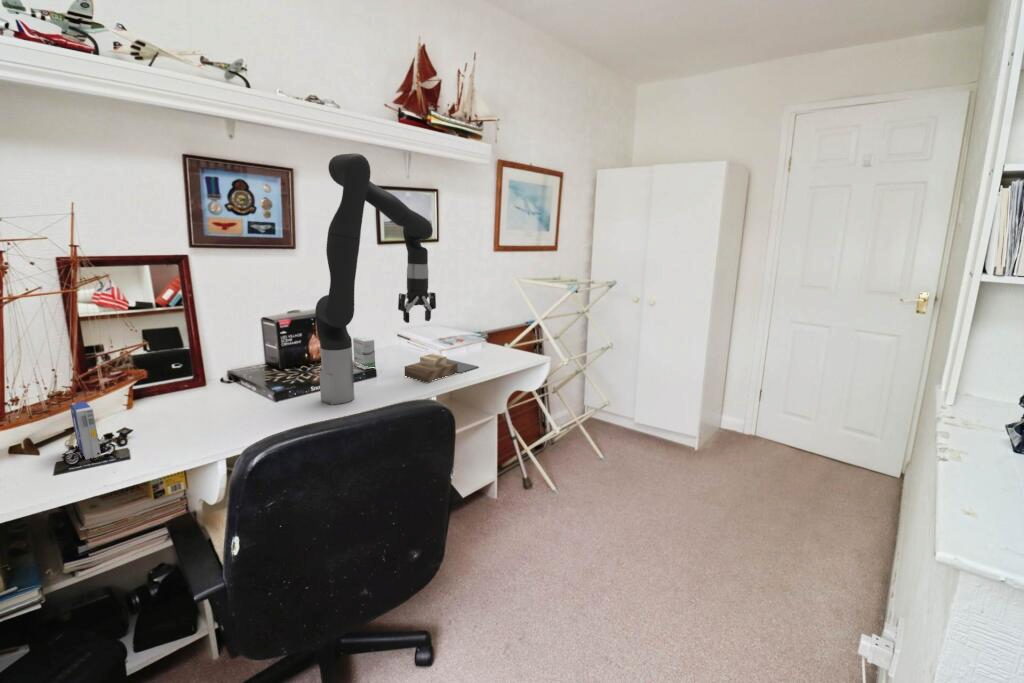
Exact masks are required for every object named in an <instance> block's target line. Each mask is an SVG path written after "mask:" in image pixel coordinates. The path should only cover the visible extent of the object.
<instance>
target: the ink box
mask: <svg viewBox="0 0 1024 683" xmlns="http://www.w3.org/2000/svg"><path fill="white" fill-rule="evenodd" d="M352 344H353V345H352V348H353V360H354V361H353V363H354V362H357V363H359V364H362V365H364V366H368V367H375V368H376V353H375V352H376V351H375V339H372V338H369V337H366V336H359V337H358V336H357V337H353V338H352Z"/></svg>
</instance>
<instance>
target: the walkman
mask: <svg viewBox="0 0 1024 683" xmlns="http://www.w3.org/2000/svg"><path fill="white" fill-rule="evenodd" d="M69 408H70V414H71V418H72V424H73V429H74V435H75V436H74V437H75V440H76V445H78V446H77V448H78V447H79V449H80V450H81V452H82V454H83V455H82V454H81V455H82V457H83V456H84V457H85V458H84V457H83V458H84V459H85V461H86V460H90V458H91V459H95V458H99V456H100V457H102V453H101V448H100V442H99V437H98V436H99V435H98V430H97V424H96V420H95V413H94V409H93V408H92V407H91V406H90V405H89V403H87V402H86V401H78V402H71V403H70V404H69ZM93 457H94V458H93Z"/></svg>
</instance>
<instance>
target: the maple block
mask: <svg viewBox="0 0 1024 683" xmlns="http://www.w3.org/2000/svg"><path fill="white" fill-rule="evenodd" d="M447 359H448V357H447V356H445V355H441V354H436V353H430V354H427V355H423V356H420V357H419V362H420V365H423V366H427V367H431V368H435V367H439V366H442V365H446V364H447Z"/></svg>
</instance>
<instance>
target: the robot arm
mask: <svg viewBox="0 0 1024 683" xmlns="http://www.w3.org/2000/svg"><path fill="white" fill-rule="evenodd" d="M328 174H329V175H330V178H331V179H332V180H333V181H334V182H335V183H336V184H337V185H339V186H341V187H342V194H341V195H342V196H341V200H340V203H339V206H338V208H337V209H336V212H335V214H334V216H333V218H332V219H331V221H330V223H329V227H328V231H327V240H326V248H325V250H326V259H327V266H328V270H329V276H330V277H329V278H330V282H329V283H330V284H329V291H328V294H326V295H323V296H322V297H320V299H319V300H318V301H317V303H316V305H315V315H314V316H315V324H316V326H315V327H316V334H317V338H318V341H319V344H320V345H319V347H320V359H321V360H320V362H321V363H320V364H321V371H319V373H318V374H319V376H318V377H319V391H320V393H319V394H320V401H321V402H324V403H327V404H330V405H332V406H333V405H337V404H340V405H341V404H345V403H349V402H352V401H353V400H354V399H355V384H354V366H353V365H354V361H353V345H352V344H353V339H352V337H351V335H350V333H349V332H348V328H347V326H348V325H349V324H350V323H352V320H353V318H354V314H355V283H356V275H357V268H358V259H359V253H360V252H359V251H360V242H361V233H362V224H363V217H364V216H363V215H364V210H365V204H366V202H367V203H369V204H370V205H371V206H372V207H374V208H375V209H376V210H378V211H379V213H382V214H383V215H384V216H385V217H387V218H388V219H389V220H390V221H391V222H392V223H393V224H394V225H396V226H398V227H400V228H401V227H402V234H403V239H404V244H405V248H406V250H407V251H406V252H407V267H406V291H407V292H406V293H401V292H399V293H398V303H397V304H398V305H397V309H398V311H400V312H402V313H403V321H404V323H406V324H408V323H409V324H410V311H411V309H412V308H413V307H414V306H423V307H424V309H425V310H424V321H425V322H430V320H431V319H432V310H435V309H436V308H437V303H436V302H437V300H436V298H437V296H436V292H431V291H430V292H428V290H429V265H428V264H429V263H428V262H429V260H428V258H429V252H428V249H427V248H426V247H423V245H422V244H421V241H426V240H429V239H430V238H431V237H432V236H433V230H434V229H433V226H432V223H431V222H430V221H429V220H428V219H427V218H425V217H424V216H423V215H422V214H419V213H418V212H416V211H414V210H413V209H411V208H410V207H408V206H407V205H406V204H405V203H404V202H403V201H402V200H401V199H399V198H398V197H397V196H396V195H394V194H392V193H391V192H389V191H387V190H385V189H383V188H382V187H380V186H378V185H376V184H375V183H374V182H372V181H371V166H370V163H369V160H368V159H367V158H366V156H364V155H363V154H361V153H343V154H336V155H335V156H333V157H331V159H330V160H329V163H328ZM428 299H429V301H428ZM406 300H407V301H406ZM351 400H352V401H351Z"/></svg>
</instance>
